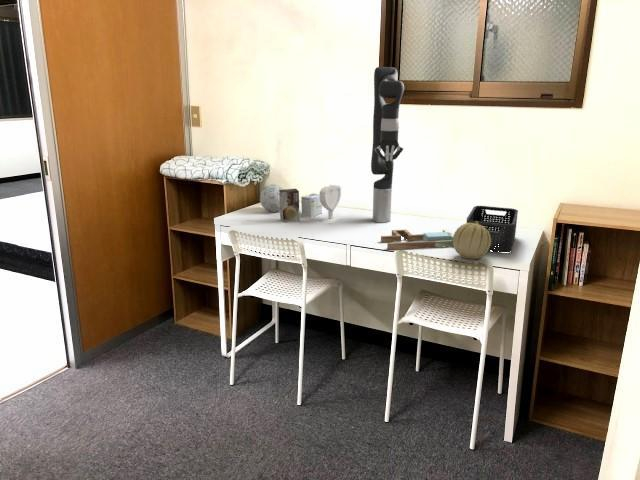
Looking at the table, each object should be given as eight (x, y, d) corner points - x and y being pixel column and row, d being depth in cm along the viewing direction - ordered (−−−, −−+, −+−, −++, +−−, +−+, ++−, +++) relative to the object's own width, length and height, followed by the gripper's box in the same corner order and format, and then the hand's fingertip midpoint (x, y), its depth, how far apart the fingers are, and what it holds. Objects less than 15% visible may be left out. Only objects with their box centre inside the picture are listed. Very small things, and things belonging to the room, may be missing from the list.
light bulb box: (312, 212, 280) (312, 192, 277) (322, 213, 277) (322, 194, 273) (301, 215, 272) (300, 196, 269) (311, 217, 268) (310, 197, 265)
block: (423, 242, 226) (423, 232, 225) (444, 241, 227) (445, 232, 226) (427, 246, 221) (428, 236, 219) (449, 245, 222) (450, 235, 220)
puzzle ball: (289, 213, 277) (289, 186, 272) (262, 215, 273) (261, 188, 269) (284, 207, 291) (283, 181, 286) (258, 209, 287) (257, 183, 282)
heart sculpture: (326, 224, 256) (326, 189, 250) (318, 222, 258) (318, 188, 253) (342, 217, 268) (342, 184, 263) (334, 216, 271) (334, 183, 265)
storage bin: (510, 255, 209) (514, 224, 205) (462, 249, 216) (465, 219, 212) (515, 236, 234) (518, 208, 230) (472, 232, 241) (474, 205, 237)
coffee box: (296, 218, 267) (296, 188, 262) (299, 221, 261) (299, 190, 257) (279, 219, 265) (278, 189, 260) (282, 222, 259) (282, 191, 254)
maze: (376, 236, 235) (376, 227, 234) (438, 233, 239) (439, 224, 238) (388, 249, 216) (388, 240, 214) (456, 246, 220) (456, 237, 219)
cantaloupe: (448, 261, 202) (451, 224, 197) (454, 250, 215) (457, 216, 210) (487, 266, 196) (490, 228, 192) (491, 254, 209) (494, 219, 205)
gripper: (401, 128, 222) (399, 167, 227) (372, 128, 220) (371, 168, 225) (407, 129, 215) (405, 170, 220) (377, 130, 213) (375, 171, 218)
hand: (387, 169), depth 223 cm, fingers closed
